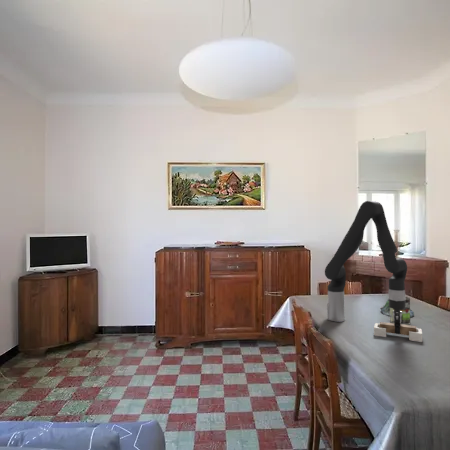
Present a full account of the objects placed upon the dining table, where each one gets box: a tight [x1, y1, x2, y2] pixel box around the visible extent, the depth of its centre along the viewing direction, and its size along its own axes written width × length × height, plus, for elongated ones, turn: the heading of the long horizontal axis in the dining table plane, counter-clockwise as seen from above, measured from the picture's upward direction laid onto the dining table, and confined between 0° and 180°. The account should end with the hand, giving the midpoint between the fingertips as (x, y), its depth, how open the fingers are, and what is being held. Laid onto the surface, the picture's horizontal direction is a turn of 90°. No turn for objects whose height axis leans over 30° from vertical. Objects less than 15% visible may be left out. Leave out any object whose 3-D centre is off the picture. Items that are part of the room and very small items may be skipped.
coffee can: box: [389, 296, 411, 325], centre depth 180 cm, size 10×10×14 cm
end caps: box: [373, 322, 423, 343], centre depth 159 cm, size 21×8×4 cm, turn 61°
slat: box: [379, 321, 417, 336], centre depth 159 cm, size 16×4×4 cm, turn 61°
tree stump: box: [380, 297, 415, 319], centre depth 199 cm, size 18×20×18 cm
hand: (397, 332), depth 159 cm, fingers closed on slat, 3 cm apart
